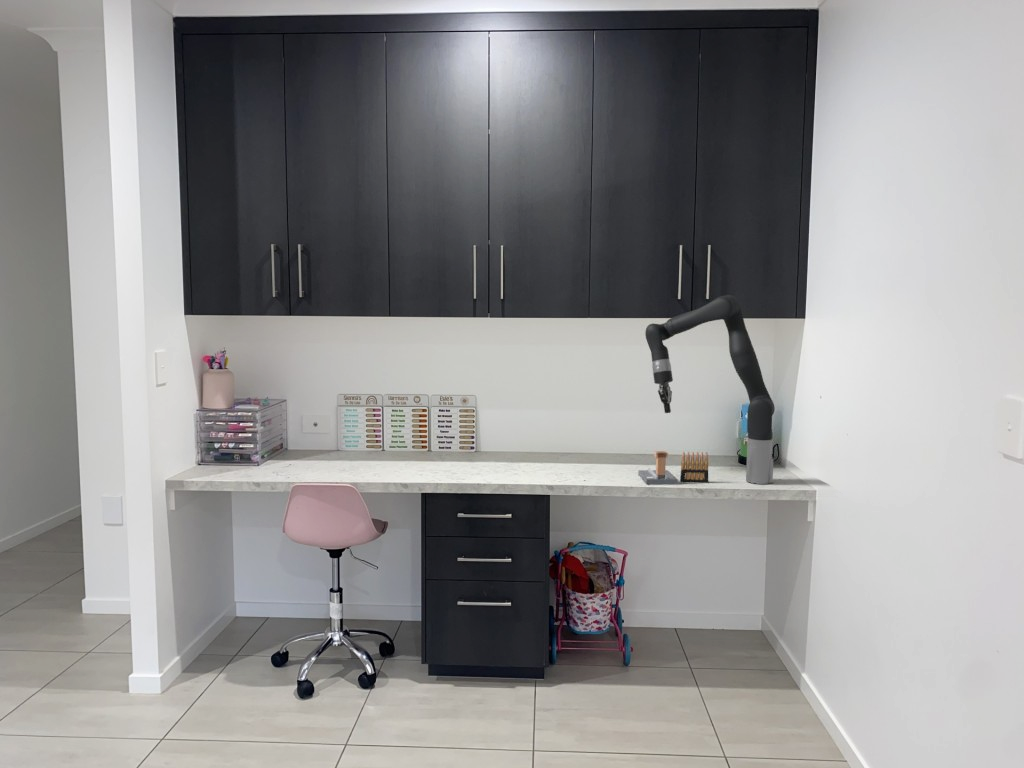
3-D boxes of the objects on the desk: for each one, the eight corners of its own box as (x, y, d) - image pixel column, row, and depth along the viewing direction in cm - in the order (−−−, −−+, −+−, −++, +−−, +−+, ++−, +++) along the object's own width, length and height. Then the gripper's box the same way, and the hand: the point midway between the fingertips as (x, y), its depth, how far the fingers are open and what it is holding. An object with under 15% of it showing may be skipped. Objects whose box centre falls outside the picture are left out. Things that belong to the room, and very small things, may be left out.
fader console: (667, 475, 323) (667, 467, 323) (677, 484, 307) (677, 476, 307) (638, 475, 322) (638, 467, 322) (646, 484, 307) (646, 476, 306)
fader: (665, 476, 311) (665, 451, 310) (666, 477, 308) (667, 452, 307) (653, 476, 311) (654, 451, 310) (655, 477, 308) (656, 452, 307)
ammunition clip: (707, 481, 312) (708, 451, 311) (708, 483, 310) (709, 452, 309) (680, 481, 313) (680, 451, 311) (680, 482, 311) (681, 452, 309)
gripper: (666, 368, 322) (672, 411, 320) (675, 370, 334) (680, 412, 332) (648, 371, 325) (654, 413, 323) (657, 373, 337) (663, 414, 335)
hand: (667, 412), depth 327 cm, fingers closed
